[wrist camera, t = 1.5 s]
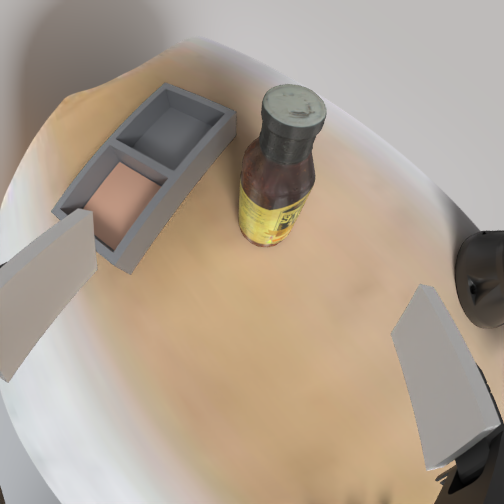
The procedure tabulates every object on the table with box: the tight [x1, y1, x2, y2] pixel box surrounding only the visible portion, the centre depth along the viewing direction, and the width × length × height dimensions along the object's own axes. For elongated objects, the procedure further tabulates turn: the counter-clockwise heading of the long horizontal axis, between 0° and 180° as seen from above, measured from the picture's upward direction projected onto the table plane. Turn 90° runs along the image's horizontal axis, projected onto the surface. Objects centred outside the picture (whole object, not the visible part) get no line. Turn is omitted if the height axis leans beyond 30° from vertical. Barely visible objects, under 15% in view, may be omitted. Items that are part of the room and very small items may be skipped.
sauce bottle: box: [239, 84, 326, 247], centre depth 25 cm, size 6×6×20 cm
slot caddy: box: [51, 83, 236, 275], centre depth 33 cm, size 12×23×5 cm, turn 148°
